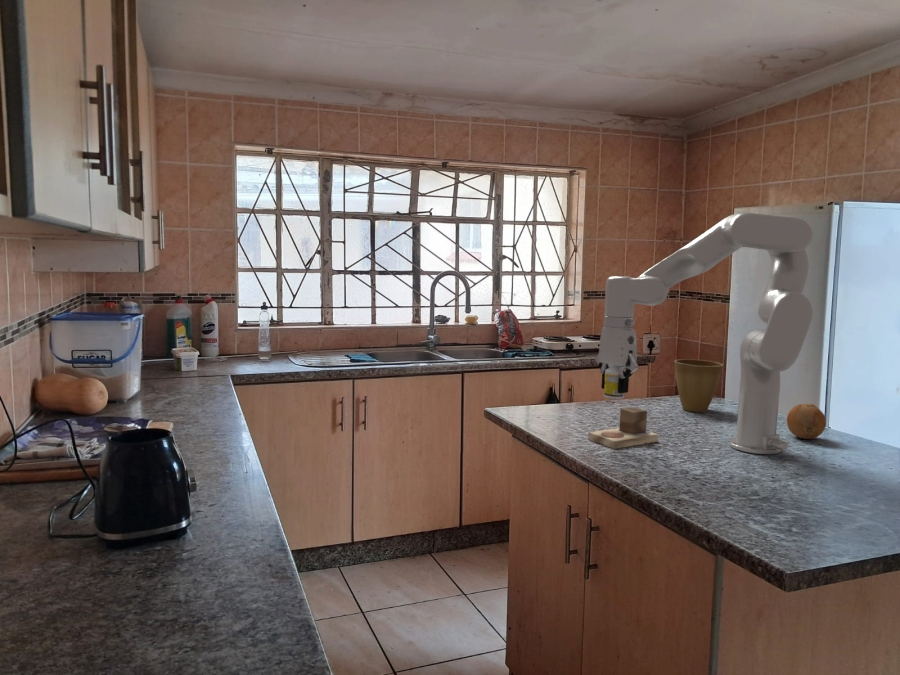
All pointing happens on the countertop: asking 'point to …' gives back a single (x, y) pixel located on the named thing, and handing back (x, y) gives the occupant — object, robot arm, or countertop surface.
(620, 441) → the board
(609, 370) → the supplement bottle
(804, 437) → the onion
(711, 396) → the plant pot
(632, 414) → the walnut block
